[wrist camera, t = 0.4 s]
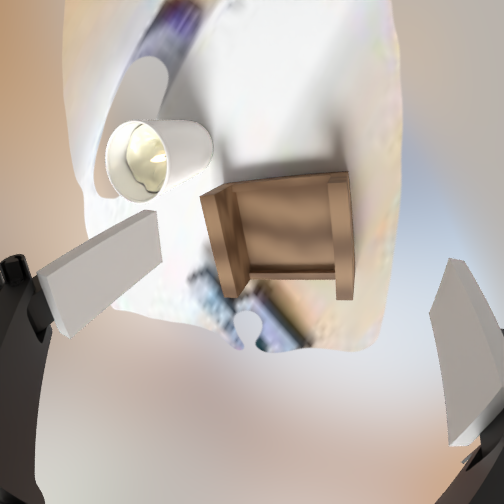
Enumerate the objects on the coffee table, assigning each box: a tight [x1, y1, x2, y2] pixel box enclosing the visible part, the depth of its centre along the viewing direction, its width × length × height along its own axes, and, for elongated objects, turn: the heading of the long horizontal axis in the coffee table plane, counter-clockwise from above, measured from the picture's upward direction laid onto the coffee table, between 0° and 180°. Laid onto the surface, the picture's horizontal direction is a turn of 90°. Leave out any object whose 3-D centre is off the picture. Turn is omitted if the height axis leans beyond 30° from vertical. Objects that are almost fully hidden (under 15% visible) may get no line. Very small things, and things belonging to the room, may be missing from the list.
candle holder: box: [105, 120, 213, 204], centre depth 35 cm, size 10×10×12 cm
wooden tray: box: [200, 171, 355, 300], centre depth 37 cm, size 14×17×7 cm
